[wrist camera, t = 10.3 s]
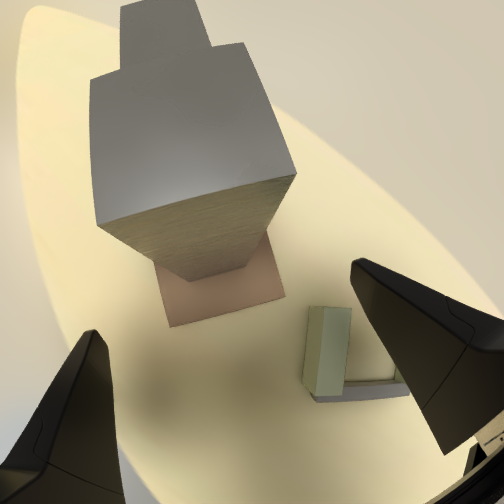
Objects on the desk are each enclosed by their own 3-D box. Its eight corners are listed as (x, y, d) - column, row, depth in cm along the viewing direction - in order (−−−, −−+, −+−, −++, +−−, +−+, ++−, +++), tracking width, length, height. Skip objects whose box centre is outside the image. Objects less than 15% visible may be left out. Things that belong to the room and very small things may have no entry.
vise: (409, 390, 18) (432, 399, 15) (299, 397, 17) (312, 412, 15) (418, 311, 19) (443, 311, 16) (309, 306, 19) (324, 306, 16)
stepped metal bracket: (245, 267, 18) (297, 173, 5) (189, 282, 17) (96, 225, 4) (218, 169, 18) (216, -14, 6) (166, 182, 18) (97, 14, 5)
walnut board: (282, 296, 18) (285, 296, 18) (172, 326, 18) (170, 327, 17) (247, 178, 20) (249, 172, 19) (145, 205, 19) (141, 200, 18)
